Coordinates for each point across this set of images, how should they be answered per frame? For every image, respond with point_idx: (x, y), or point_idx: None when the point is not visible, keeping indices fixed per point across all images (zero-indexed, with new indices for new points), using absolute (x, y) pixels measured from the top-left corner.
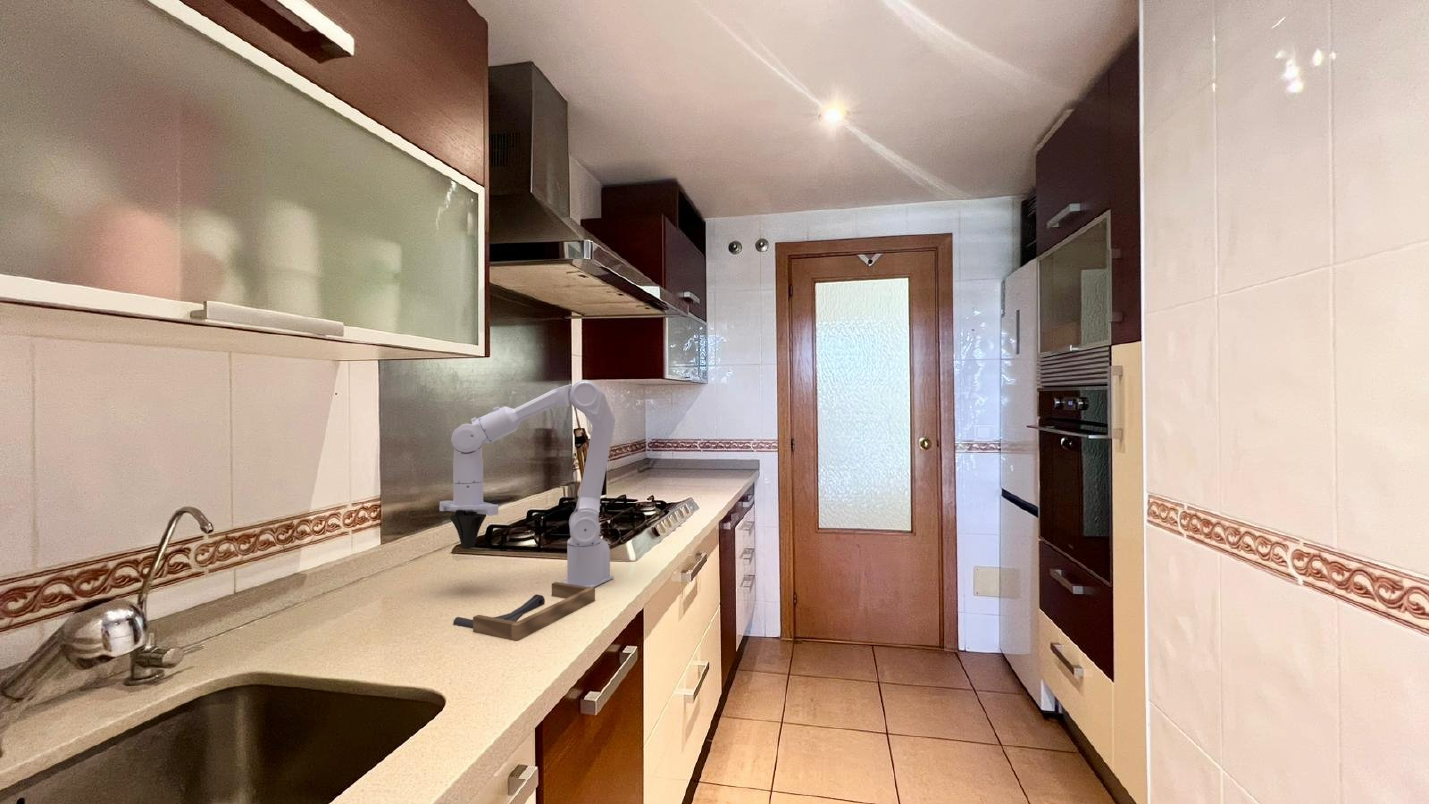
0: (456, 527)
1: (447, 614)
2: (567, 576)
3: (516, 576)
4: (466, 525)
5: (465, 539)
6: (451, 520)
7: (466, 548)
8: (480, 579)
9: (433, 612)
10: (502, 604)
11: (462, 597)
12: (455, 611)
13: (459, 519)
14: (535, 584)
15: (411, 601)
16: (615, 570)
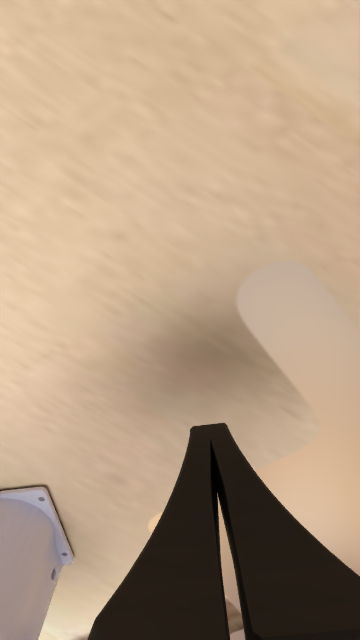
0: (281, 519)
1: (72, 195)
2: (27, 519)
3: None
4: (145, 561)
5: (189, 460)
6: (354, 577)
7: (192, 427)
8: (276, 430)
9: (127, 181)
10: (27, 335)
11: (179, 314)
12: (78, 226)
13: (216, 615)
14: (108, 469)
15: (290, 206)
16: None
